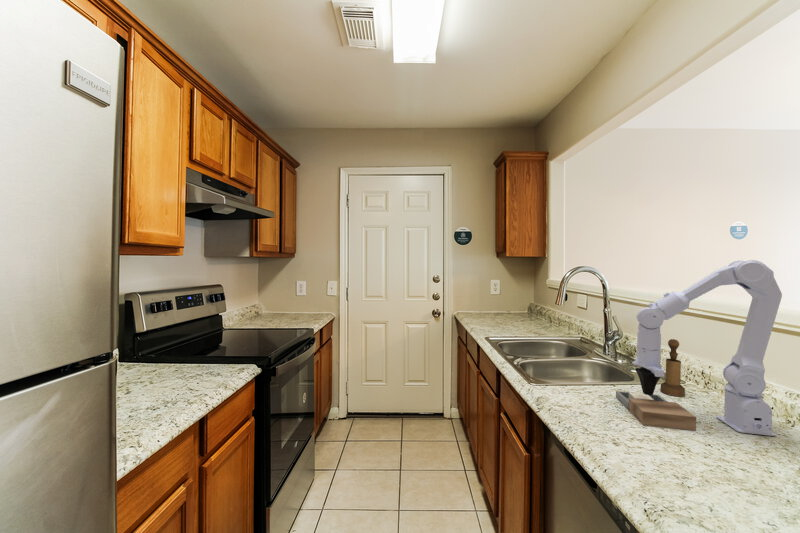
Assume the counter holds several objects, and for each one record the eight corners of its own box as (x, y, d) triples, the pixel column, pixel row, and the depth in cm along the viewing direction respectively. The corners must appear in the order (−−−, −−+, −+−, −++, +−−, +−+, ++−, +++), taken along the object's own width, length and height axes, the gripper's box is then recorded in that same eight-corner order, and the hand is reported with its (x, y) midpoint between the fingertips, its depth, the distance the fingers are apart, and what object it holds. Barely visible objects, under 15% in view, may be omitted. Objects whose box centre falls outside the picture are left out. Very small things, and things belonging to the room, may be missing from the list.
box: (675, 414, 101) (675, 407, 101) (627, 409, 104) (628, 402, 104) (658, 401, 111) (658, 394, 111) (615, 397, 114) (616, 390, 114)
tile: (646, 393, 111) (646, 400, 111) (628, 392, 112) (628, 398, 112) (654, 399, 106) (654, 406, 106) (635, 398, 107) (635, 404, 107)
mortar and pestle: (689, 397, 115) (690, 342, 114) (666, 395, 116) (668, 341, 116) (677, 390, 121) (679, 338, 121) (656, 389, 122) (657, 336, 122)
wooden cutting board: (696, 430, 91) (696, 417, 91) (643, 425, 94) (643, 411, 94) (675, 414, 101) (676, 402, 101) (628, 410, 104) (628, 398, 104)
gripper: (624, 342, 113) (623, 384, 113) (644, 353, 99) (643, 401, 99) (649, 343, 111) (648, 386, 111) (673, 355, 97) (672, 404, 97)
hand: (647, 394), depth 105 cm, fingers closed
